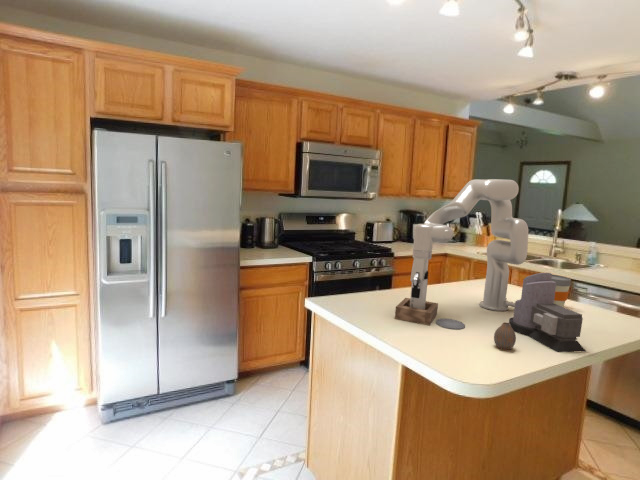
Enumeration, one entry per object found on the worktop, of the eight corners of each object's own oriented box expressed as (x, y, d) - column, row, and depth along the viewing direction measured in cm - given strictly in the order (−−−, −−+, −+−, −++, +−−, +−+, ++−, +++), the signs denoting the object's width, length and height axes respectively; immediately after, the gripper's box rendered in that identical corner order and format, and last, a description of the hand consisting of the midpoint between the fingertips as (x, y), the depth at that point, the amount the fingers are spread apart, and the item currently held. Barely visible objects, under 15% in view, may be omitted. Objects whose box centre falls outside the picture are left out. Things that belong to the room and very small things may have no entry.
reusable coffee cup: (571, 309, 195) (576, 278, 193) (559, 313, 188) (564, 281, 186) (544, 302, 205) (548, 273, 203) (532, 306, 198) (536, 275, 196)
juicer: (497, 322, 170) (504, 264, 167) (531, 322, 173) (539, 265, 170) (552, 352, 141) (562, 283, 137) (591, 351, 144) (602, 283, 141)
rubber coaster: (466, 323, 166) (466, 321, 166) (463, 331, 157) (463, 330, 156) (438, 318, 171) (438, 316, 171) (433, 325, 161) (433, 324, 161)
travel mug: (422, 314, 175) (427, 268, 172) (425, 319, 168) (429, 272, 165) (407, 313, 175) (412, 267, 172) (409, 318, 169) (414, 270, 166)
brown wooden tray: (436, 314, 176) (438, 303, 175) (429, 325, 161) (430, 313, 161) (404, 308, 182) (405, 297, 181) (394, 318, 167) (395, 306, 167)
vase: (489, 343, 146) (492, 319, 145) (507, 344, 147) (510, 320, 145) (499, 351, 139) (502, 326, 138) (518, 352, 140) (521, 327, 138)
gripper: (417, 250, 177) (413, 289, 179) (407, 255, 162) (403, 298, 164) (435, 252, 174) (431, 292, 176) (427, 258, 158) (422, 301, 161)
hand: (417, 294), depth 170 cm, fingers open, 9 cm apart
